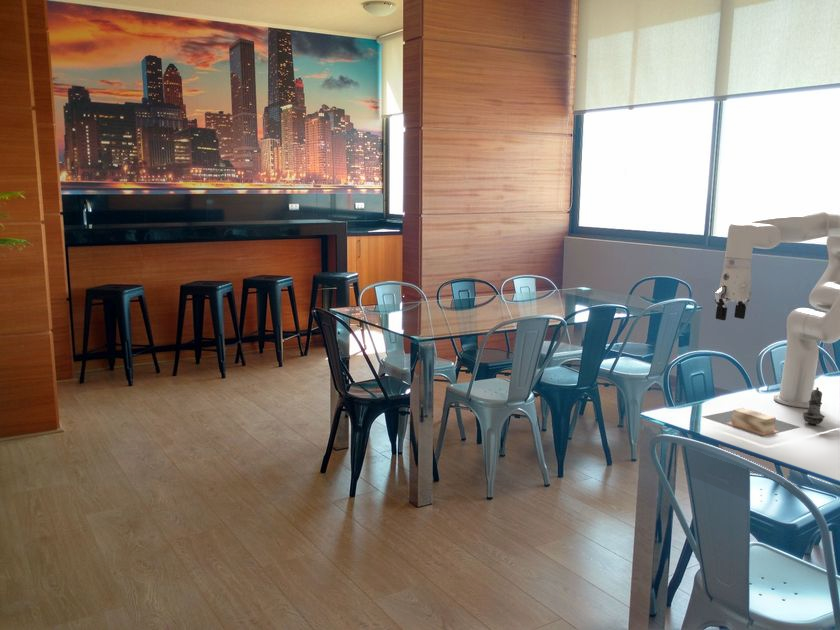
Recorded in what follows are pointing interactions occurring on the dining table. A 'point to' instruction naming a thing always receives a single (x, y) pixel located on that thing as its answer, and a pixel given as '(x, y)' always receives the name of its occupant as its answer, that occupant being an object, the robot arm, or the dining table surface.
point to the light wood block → (753, 420)
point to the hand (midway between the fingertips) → (729, 318)
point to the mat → (727, 420)
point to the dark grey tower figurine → (814, 409)
